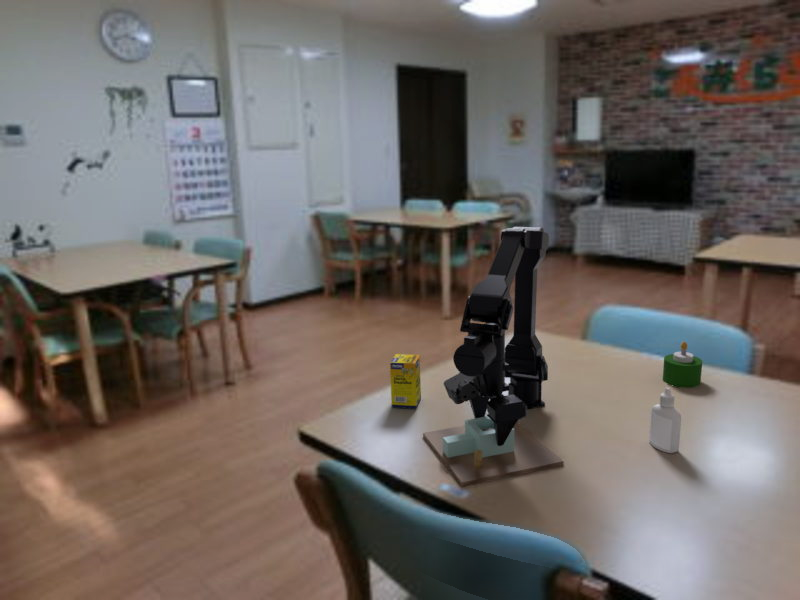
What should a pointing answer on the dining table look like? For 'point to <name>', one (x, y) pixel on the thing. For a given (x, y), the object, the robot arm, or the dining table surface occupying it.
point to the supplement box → (405, 381)
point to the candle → (682, 369)
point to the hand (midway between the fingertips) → (489, 434)
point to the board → (495, 457)
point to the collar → (477, 440)
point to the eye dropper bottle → (665, 424)
